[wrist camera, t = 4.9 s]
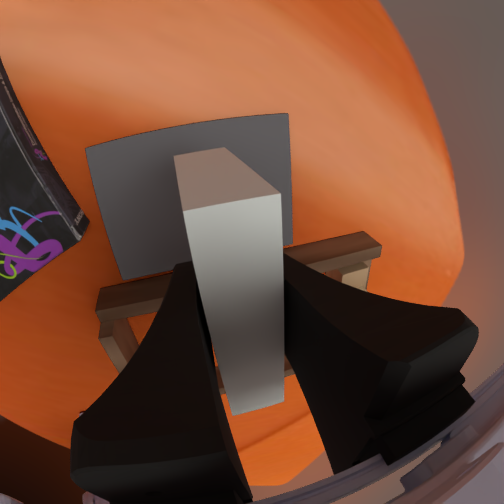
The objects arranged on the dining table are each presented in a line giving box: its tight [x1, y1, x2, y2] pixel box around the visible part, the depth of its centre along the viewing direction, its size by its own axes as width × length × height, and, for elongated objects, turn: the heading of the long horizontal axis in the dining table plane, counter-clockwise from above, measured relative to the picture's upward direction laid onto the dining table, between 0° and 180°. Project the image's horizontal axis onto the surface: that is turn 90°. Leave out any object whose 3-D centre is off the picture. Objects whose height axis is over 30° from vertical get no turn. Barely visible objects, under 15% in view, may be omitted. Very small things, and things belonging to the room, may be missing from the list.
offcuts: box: [326, 262, 369, 292], centre depth 24 cm, size 9×3×4 cm, turn 5°
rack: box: [95, 231, 382, 395], centre depth 22 cm, size 12×20×4 cm, turn 95°
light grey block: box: [174, 147, 284, 416], centre depth 10 cm, size 8×2×6 cm, turn 5°
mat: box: [85, 113, 293, 280], centre depth 17 cm, size 9×12×1 cm
